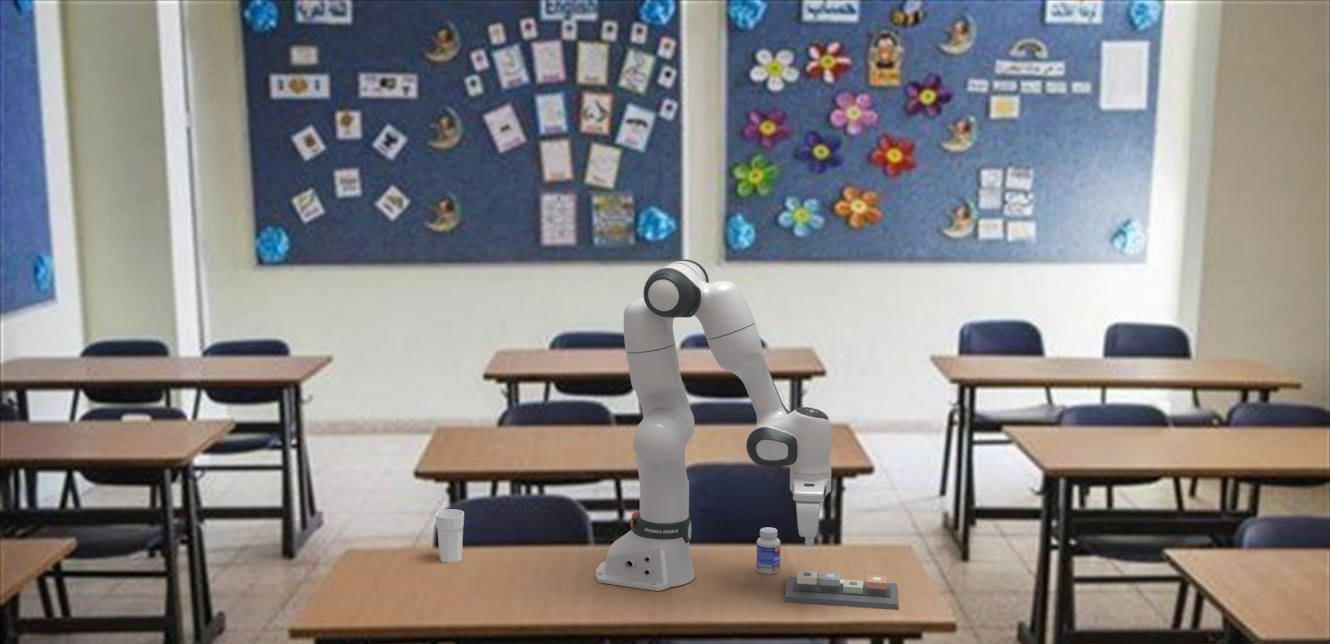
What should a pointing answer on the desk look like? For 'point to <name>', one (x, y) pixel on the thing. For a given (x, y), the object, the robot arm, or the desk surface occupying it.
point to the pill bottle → (768, 551)
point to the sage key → (853, 586)
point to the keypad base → (841, 595)
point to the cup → (450, 534)
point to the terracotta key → (876, 582)
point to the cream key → (807, 577)
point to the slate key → (830, 579)
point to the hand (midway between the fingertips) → (809, 543)
